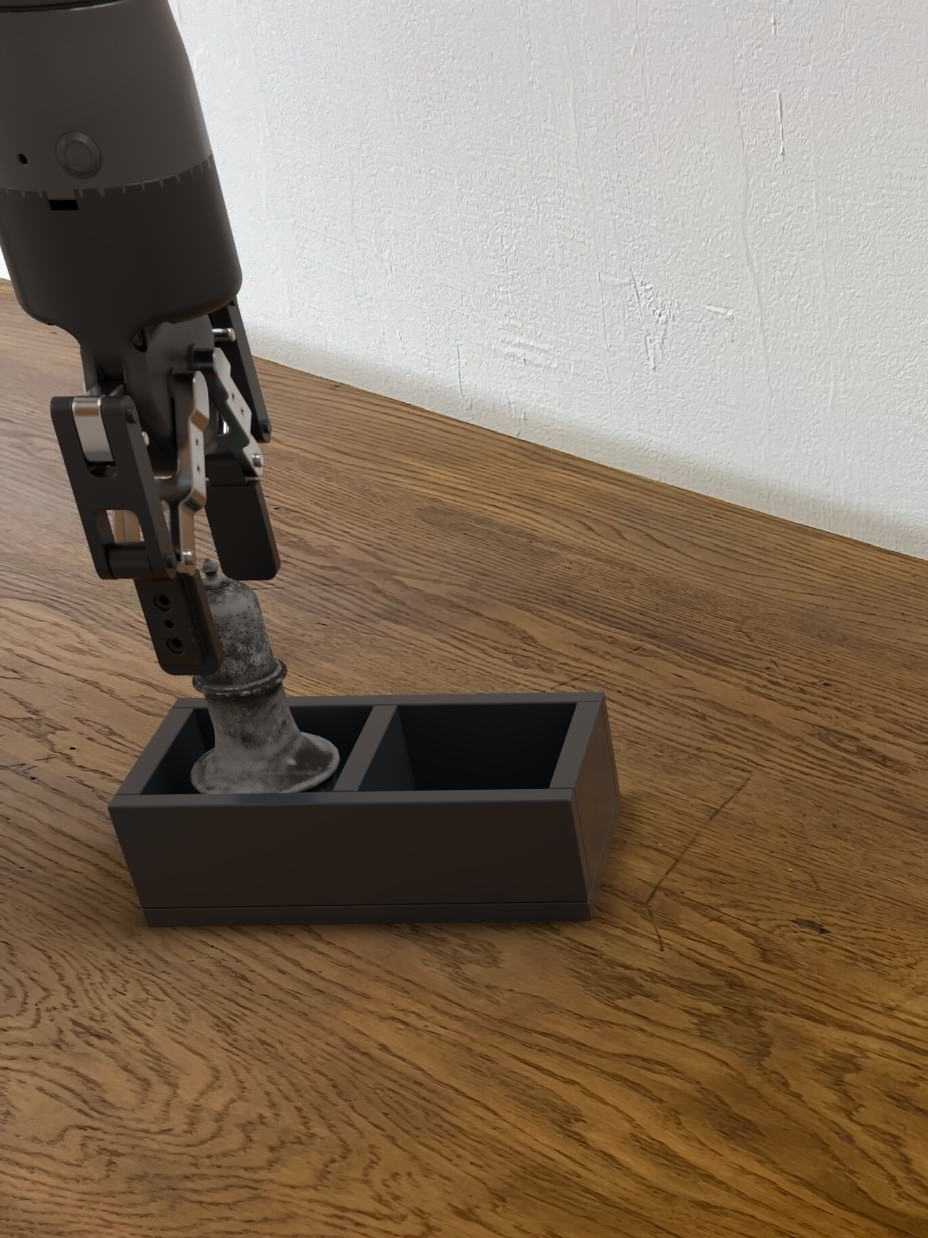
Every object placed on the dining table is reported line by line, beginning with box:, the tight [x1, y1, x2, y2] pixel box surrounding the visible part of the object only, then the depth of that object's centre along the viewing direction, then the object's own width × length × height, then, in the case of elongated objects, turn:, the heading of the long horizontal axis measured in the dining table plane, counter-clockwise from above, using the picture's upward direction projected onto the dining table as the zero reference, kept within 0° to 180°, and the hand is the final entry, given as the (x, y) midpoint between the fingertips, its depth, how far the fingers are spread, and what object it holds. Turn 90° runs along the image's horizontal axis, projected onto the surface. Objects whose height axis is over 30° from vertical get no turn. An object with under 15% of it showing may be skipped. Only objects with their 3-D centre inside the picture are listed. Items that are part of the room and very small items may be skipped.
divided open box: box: [106, 691, 624, 928], centre depth 85 cm, size 10×18×6 cm, turn 90°
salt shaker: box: [190, 557, 340, 794], centre depth 82 cm, size 6×6×12 cm
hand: (225, 622), depth 80 cm, fingers open, 8 cm apart
